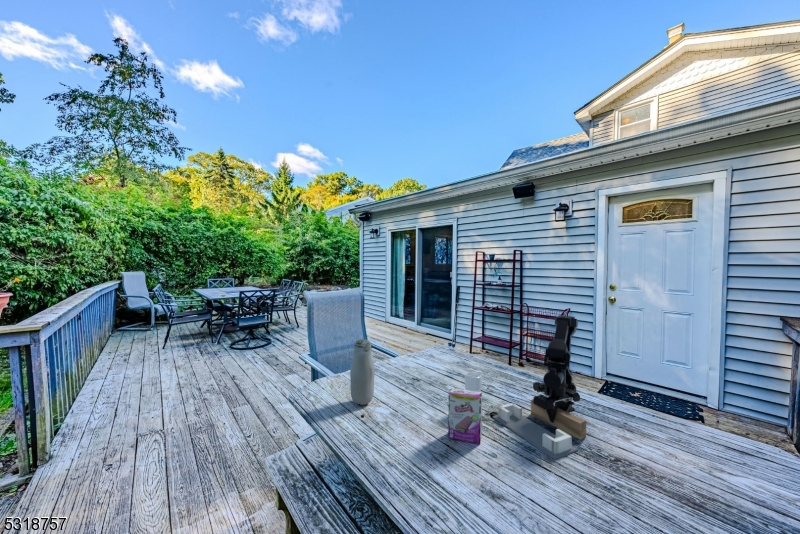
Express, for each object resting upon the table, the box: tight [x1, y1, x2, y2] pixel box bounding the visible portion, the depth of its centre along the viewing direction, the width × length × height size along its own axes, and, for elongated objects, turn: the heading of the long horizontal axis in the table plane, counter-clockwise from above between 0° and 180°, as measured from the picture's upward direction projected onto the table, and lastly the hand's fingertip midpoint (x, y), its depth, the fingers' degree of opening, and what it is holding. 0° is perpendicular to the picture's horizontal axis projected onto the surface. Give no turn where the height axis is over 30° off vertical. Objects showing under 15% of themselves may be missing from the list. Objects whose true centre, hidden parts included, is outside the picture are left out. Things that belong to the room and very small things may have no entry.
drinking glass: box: [464, 371, 482, 392], centre depth 126 cm, size 7×7×15 cm
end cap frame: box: [492, 402, 579, 460], centre depth 110 cm, size 11×28×5 cm, turn 24°
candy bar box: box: [447, 387, 483, 445], centre depth 106 cm, size 11×5×16 cm, turn 71°
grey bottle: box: [349, 338, 375, 406], centre depth 132 cm, size 10×10×28 cm
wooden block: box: [530, 399, 587, 441], centre depth 115 cm, size 4×20×6 cm, turn 28°
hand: (556, 420), depth 115 cm, fingers open, 5 cm apart
